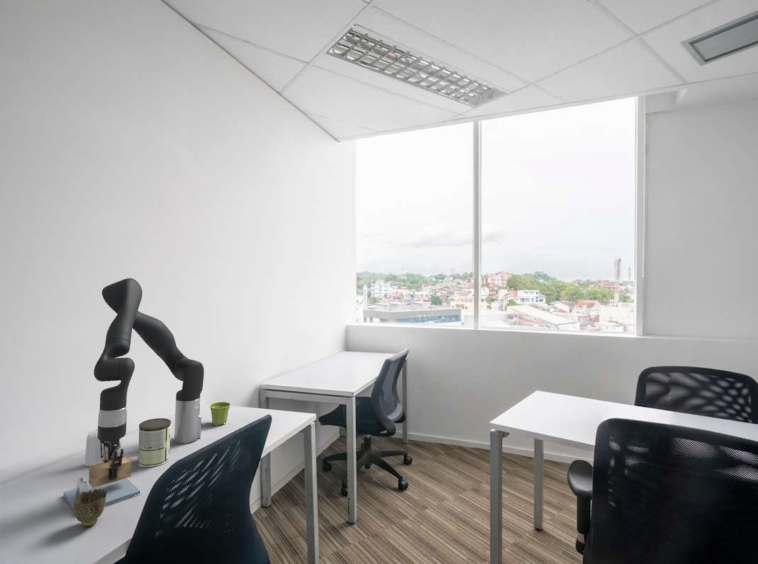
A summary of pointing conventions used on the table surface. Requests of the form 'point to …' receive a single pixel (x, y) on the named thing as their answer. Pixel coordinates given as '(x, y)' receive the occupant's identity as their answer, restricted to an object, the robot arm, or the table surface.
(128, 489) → the base board
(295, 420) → the table surface
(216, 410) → the plant pot
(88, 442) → the photo printer
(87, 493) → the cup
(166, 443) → the coffee can
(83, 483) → the dowel pins
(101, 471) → the flange bar
